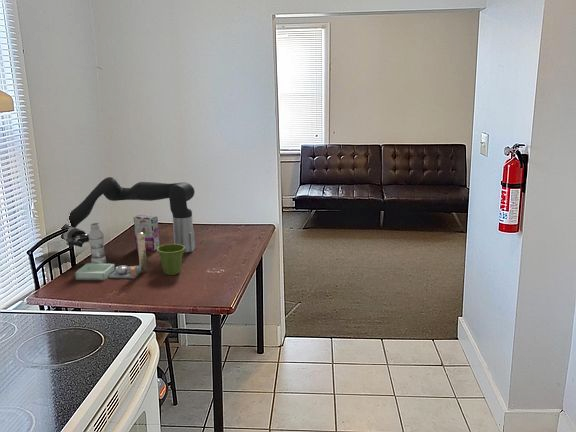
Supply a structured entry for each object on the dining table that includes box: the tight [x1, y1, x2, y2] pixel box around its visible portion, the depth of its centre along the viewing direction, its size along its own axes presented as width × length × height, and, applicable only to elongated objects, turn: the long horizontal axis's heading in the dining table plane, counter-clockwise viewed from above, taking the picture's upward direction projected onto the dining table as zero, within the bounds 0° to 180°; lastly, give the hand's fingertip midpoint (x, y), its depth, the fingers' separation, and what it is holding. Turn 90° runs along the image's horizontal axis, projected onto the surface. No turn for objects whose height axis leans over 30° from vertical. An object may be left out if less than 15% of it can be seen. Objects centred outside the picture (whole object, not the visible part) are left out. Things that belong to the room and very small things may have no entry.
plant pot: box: [156, 243, 185, 276], centre depth 236 cm, size 12×12×11 cm
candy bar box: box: [133, 214, 161, 252], centre depth 269 cm, size 11×5×16 cm, turn 68°
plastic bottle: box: [88, 222, 108, 264], centre depth 242 cm, size 6×7×20 cm
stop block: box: [131, 267, 135, 275], centre depth 233 cm, size 2×3×3 cm, turn 18°
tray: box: [74, 262, 116, 281], centre depth 234 cm, size 13×12×3 cm
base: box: [108, 269, 142, 279], centre depth 235 cm, size 11×8×1 cm
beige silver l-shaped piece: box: [115, 232, 148, 274], centre depth 234 cm, size 13×5×17 cm, turn 106°
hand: (90, 242), depth 245 cm, fingers open, 8 cm apart
